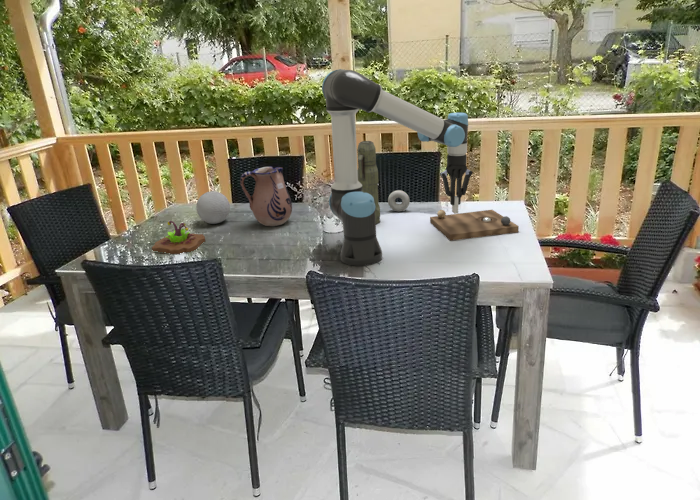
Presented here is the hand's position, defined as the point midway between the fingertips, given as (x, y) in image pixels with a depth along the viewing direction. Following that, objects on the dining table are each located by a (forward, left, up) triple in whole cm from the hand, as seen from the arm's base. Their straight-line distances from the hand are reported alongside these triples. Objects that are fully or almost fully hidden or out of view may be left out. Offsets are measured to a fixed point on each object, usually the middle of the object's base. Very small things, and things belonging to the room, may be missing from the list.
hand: (455, 212), depth 210 cm
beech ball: (-3, +9, -3) cm, 9 cm away
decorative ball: (-99, +48, -7) cm, 110 cm away
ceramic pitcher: (-74, +36, -7) cm, 82 cm away
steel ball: (+13, 0, -5) cm, 14 cm away
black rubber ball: (+17, -9, -3) cm, 20 cm away
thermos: (-31, +22, -7) cm, 38 cm away
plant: (-112, +21, -8) cm, 114 cm away
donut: (-15, +33, -7) cm, 36 cm away
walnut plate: (+7, 0, -7) cm, 10 cm away
